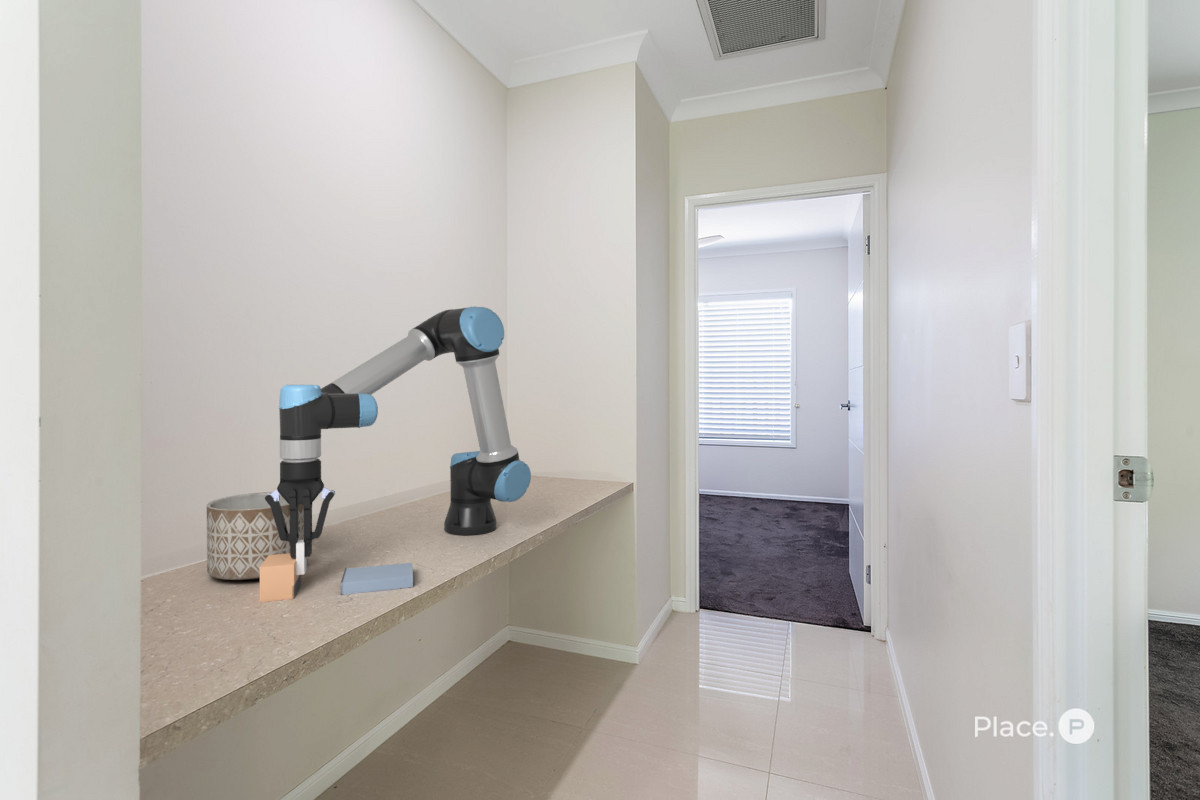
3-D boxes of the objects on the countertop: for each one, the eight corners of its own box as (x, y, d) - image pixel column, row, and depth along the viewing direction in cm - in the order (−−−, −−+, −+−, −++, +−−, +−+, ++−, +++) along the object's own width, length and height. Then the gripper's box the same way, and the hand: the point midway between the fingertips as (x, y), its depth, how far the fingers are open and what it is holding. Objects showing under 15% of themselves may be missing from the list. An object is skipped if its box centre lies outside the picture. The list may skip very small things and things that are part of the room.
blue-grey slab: (412, 573, 129) (412, 562, 128) (412, 587, 120) (412, 575, 120) (345, 579, 124) (345, 568, 124) (340, 594, 115) (340, 582, 115)
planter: (302, 553, 142) (302, 488, 141) (310, 576, 126) (310, 503, 125) (209, 566, 131) (208, 496, 131) (205, 593, 115) (204, 513, 115)
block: (300, 584, 121) (300, 552, 120) (294, 598, 113) (293, 564, 113) (268, 588, 119) (268, 555, 118) (259, 602, 111) (259, 567, 111)
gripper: (337, 455, 122) (337, 564, 123) (268, 457, 117) (269, 569, 118) (333, 460, 115) (333, 575, 116) (260, 463, 110) (261, 582, 111)
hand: (301, 572), depth 117 cm, fingers closed
